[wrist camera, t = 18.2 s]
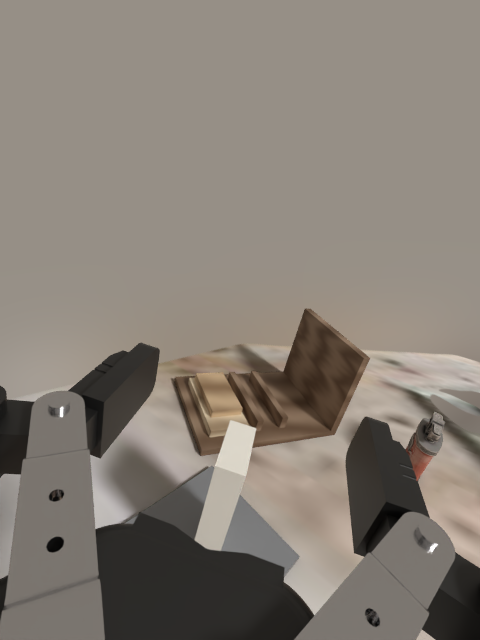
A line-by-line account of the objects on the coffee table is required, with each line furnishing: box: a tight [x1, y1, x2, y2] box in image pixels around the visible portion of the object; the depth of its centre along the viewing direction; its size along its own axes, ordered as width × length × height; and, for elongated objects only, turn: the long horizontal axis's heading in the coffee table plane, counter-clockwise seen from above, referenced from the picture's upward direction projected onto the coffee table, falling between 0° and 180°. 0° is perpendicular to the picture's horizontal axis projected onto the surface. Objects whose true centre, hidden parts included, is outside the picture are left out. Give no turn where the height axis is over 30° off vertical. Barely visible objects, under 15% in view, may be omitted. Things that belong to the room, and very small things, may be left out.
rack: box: [175, 309, 370, 456], centre depth 53 cm, size 16×23×15 cm
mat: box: [124, 466, 299, 577], centre depth 34 cm, size 14×14×1 cm
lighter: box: [405, 412, 445, 482], centre depth 49 cm, size 8×3×10 cm, turn 147°
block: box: [195, 420, 256, 551], centre depth 31 cm, size 6×2×14 cm, turn 169°
